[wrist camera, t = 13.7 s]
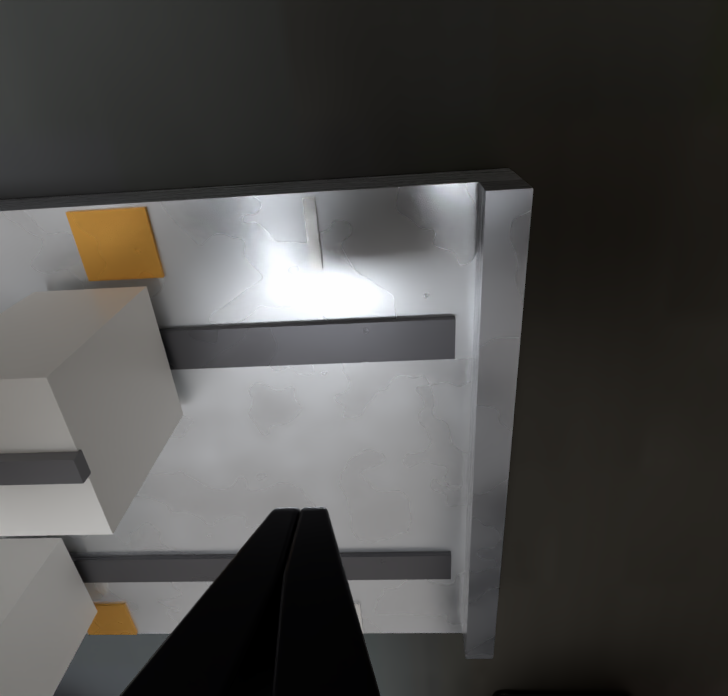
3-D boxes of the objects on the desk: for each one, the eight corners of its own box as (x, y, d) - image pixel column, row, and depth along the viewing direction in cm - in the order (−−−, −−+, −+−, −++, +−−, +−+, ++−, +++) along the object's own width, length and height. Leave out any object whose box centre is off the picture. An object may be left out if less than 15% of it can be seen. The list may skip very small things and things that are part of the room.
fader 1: (148, 285, 13) (41, 385, 9) (185, 414, 15) (109, 543, 11) (32, 291, 13) (-124, 390, 9) (82, 417, 15) (-29, 546, 11)
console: (509, 167, 13) (533, 188, 11) (482, 597, 21) (492, 658, 19) (-211, 213, 15) (-316, 239, 12) (20, 601, 23) (-19, 658, 20)
